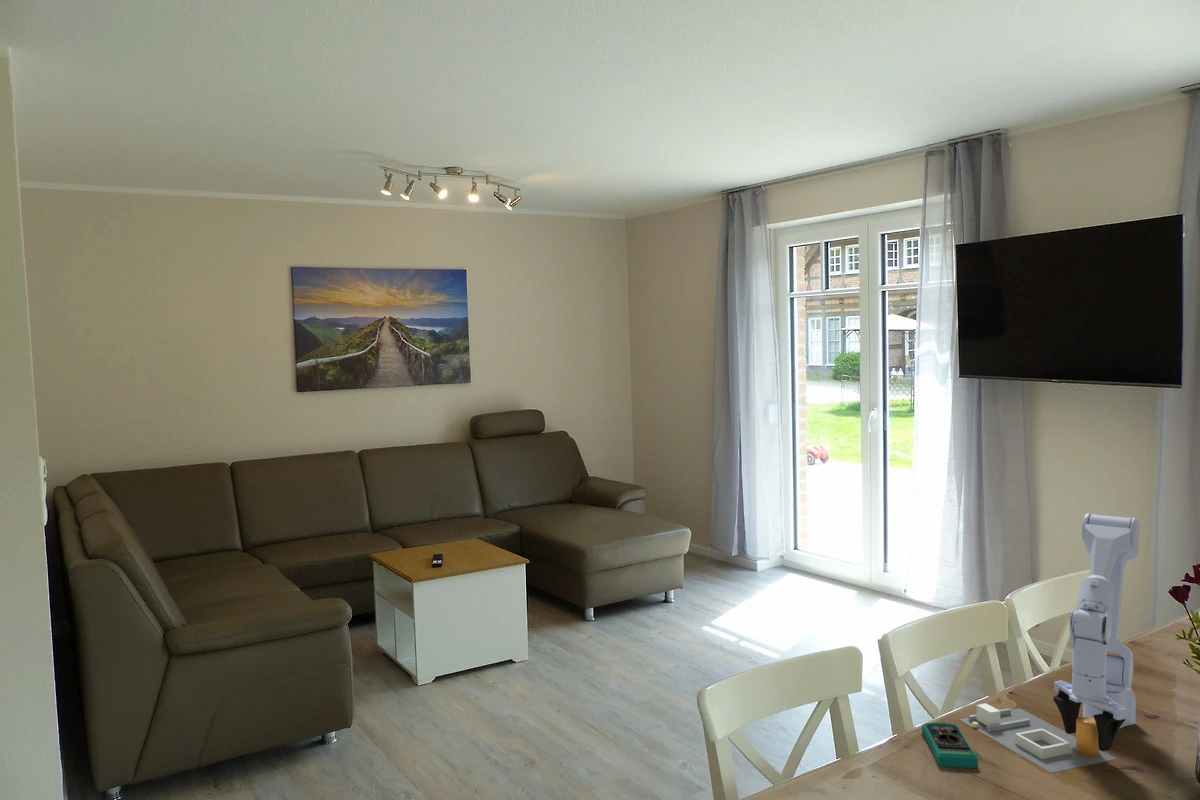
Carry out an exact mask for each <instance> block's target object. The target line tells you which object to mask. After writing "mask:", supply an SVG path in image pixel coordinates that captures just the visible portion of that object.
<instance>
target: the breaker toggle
mask: <svg viewBox="0 0 1200 800" xmlns="http://www.w3.org/2000/svg"><path fill="white" fill-rule="evenodd" d="M999 710H1000V709H997V708H995V707H993V706H992V705H990V704H988V703H987V702H986V703H980V704H976V714H977V715H976V720H978V721H979V722H981V723H983V724H985V725H986V726H990V725H995V724H1000V711H999Z"/></svg>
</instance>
